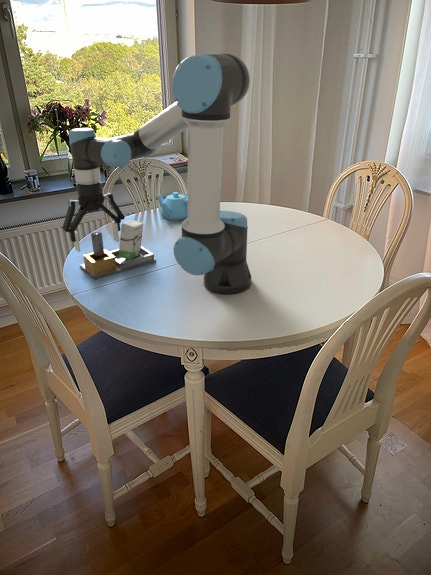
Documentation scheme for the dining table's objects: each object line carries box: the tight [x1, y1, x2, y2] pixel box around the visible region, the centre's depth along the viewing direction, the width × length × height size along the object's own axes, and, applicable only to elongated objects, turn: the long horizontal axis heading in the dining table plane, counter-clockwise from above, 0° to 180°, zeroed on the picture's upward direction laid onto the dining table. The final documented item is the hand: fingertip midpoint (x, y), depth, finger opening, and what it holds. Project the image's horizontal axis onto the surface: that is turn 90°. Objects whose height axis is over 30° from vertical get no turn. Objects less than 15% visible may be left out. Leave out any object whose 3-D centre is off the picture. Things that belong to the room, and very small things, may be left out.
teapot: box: [156, 191, 188, 221], centre depth 197 cm, size 15×15×11 cm
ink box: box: [118, 219, 144, 259], centre depth 154 cm, size 9×5×12 cm, turn 167°
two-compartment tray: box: [79, 245, 157, 281], centre depth 154 cm, size 12×23×5 cm, turn 126°
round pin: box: [90, 231, 105, 260], centre depth 148 cm, size 3×3×12 cm
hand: (97, 245), depth 147 cm, fingers open, 13 cm apart
